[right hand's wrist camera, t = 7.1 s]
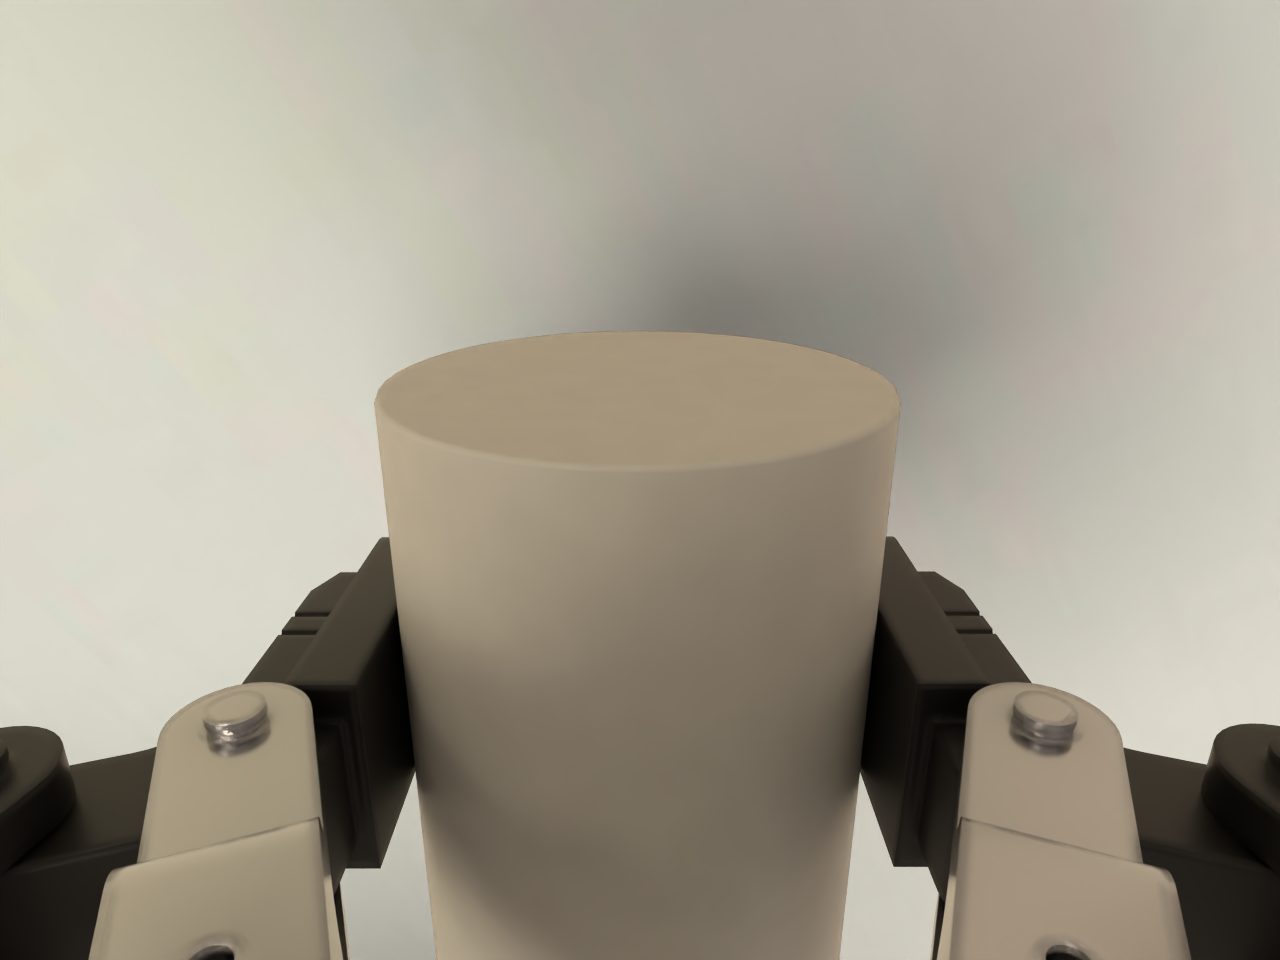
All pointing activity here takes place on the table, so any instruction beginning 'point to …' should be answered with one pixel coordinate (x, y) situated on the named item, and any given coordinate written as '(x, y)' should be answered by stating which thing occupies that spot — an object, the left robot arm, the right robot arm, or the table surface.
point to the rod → (637, 638)
